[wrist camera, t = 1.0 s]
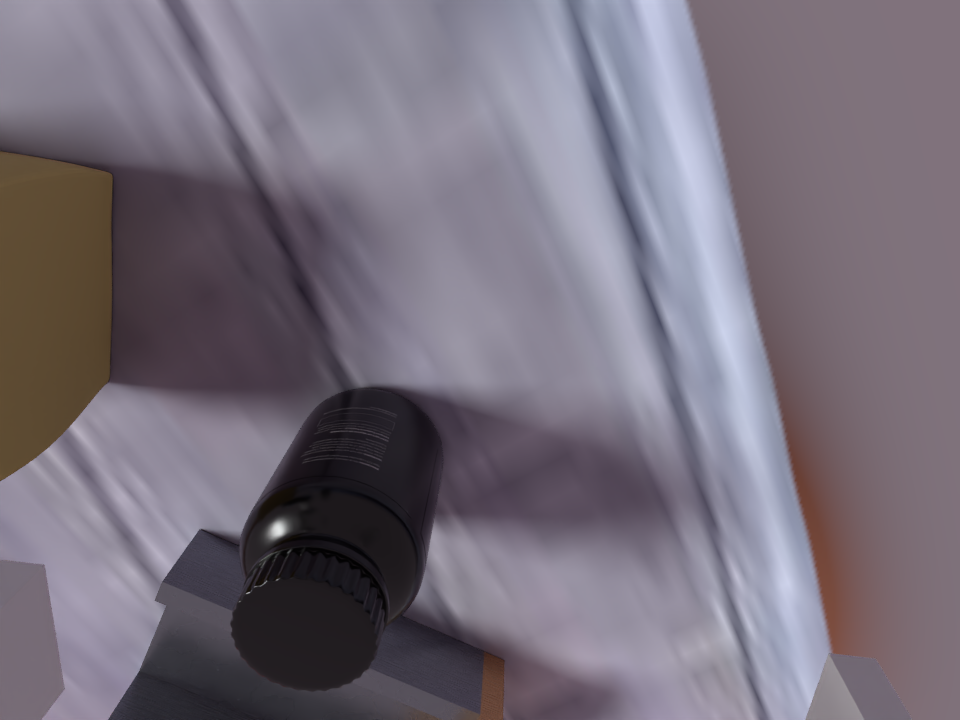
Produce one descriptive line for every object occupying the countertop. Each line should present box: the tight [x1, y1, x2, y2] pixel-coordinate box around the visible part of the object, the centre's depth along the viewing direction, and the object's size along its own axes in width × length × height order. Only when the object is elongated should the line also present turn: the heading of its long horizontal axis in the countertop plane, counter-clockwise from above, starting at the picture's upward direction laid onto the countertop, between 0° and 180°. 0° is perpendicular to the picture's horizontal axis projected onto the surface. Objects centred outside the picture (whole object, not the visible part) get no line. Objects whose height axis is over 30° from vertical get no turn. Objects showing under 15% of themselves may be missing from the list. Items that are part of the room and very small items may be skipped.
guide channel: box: [108, 530, 504, 720], centre depth 36 cm, size 17×11×6 cm, turn 63°
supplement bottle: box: [230, 388, 443, 692], centre depth 28 cm, size 7×7×12 cm
